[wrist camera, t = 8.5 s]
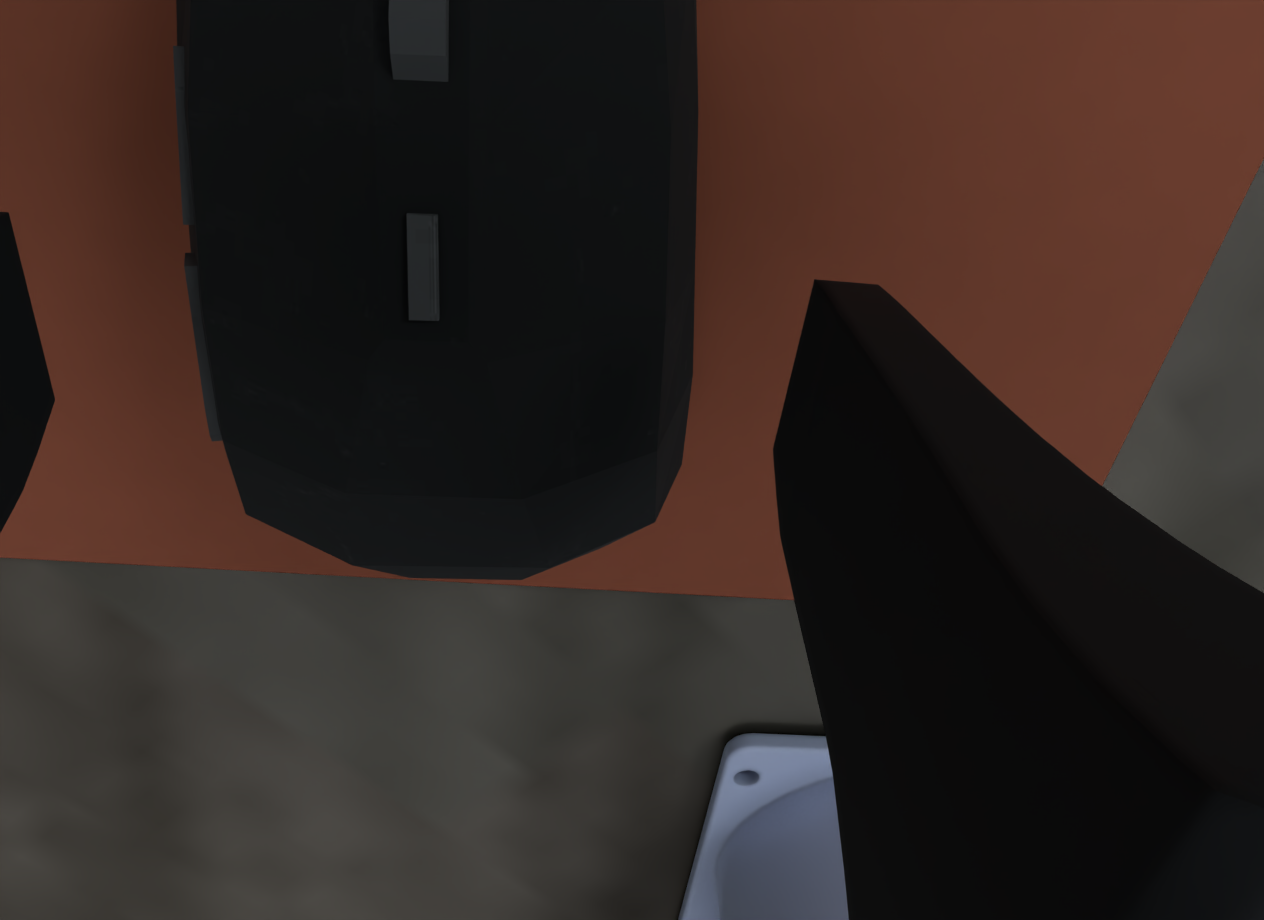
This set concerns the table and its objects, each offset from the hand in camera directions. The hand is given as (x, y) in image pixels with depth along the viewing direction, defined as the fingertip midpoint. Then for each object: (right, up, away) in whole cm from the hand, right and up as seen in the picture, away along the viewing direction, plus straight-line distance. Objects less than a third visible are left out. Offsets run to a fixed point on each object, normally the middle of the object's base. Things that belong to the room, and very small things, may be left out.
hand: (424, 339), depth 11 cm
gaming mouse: (0, +3, +4) cm, 5 cm away
